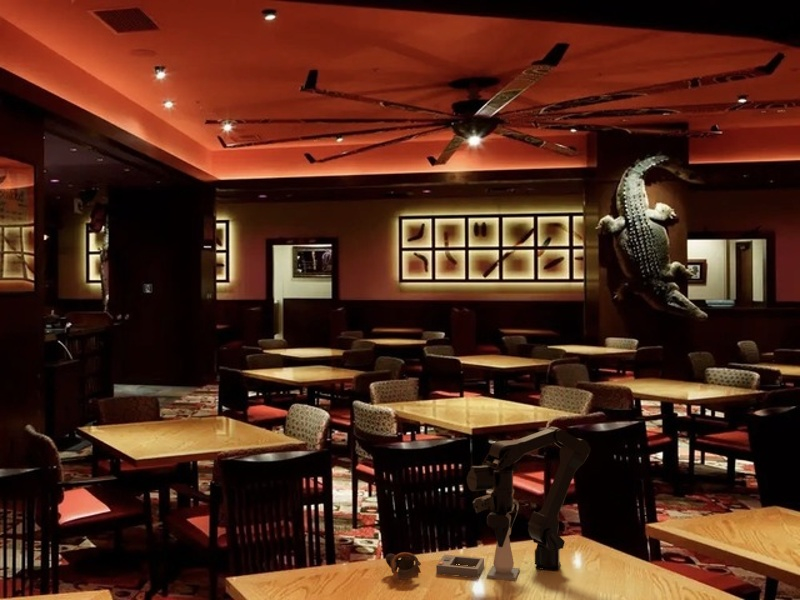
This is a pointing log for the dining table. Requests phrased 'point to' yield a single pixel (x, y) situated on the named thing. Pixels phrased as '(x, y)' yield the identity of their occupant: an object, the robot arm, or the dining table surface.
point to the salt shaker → (504, 557)
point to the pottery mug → (403, 566)
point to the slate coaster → (509, 576)
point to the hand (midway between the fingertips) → (503, 541)
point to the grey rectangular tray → (450, 561)
